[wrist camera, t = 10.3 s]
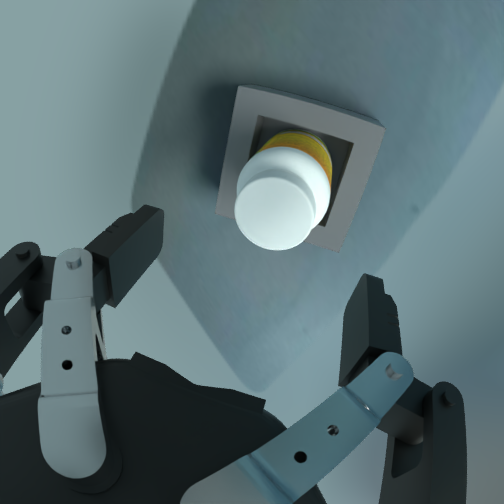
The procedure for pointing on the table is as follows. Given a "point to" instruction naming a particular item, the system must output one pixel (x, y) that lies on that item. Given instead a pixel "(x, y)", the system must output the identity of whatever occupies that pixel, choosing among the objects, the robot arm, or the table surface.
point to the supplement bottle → (284, 190)
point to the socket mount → (319, 123)
